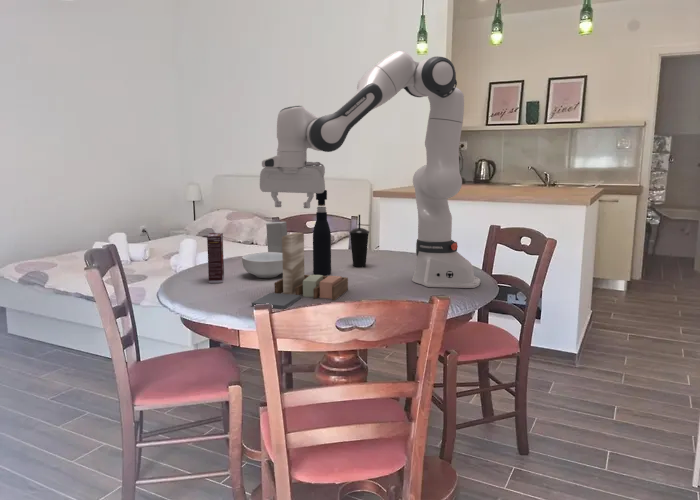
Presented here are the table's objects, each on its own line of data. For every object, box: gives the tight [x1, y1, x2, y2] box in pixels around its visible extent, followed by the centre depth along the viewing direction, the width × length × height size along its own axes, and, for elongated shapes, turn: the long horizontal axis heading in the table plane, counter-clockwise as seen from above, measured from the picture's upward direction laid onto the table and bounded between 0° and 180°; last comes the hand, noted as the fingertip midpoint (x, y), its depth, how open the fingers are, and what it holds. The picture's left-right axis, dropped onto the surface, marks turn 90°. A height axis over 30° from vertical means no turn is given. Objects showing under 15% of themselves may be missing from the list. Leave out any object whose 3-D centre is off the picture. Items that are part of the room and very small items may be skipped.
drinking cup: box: [348, 214, 370, 268], centre depth 206 cm, size 8×8×20 cm
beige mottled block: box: [282, 231, 305, 295], centre depth 167 cm, size 3×10×18 cm, turn 163°
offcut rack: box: [273, 274, 349, 301], centre depth 167 cm, size 19×13×4 cm
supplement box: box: [206, 232, 225, 284], centre depth 183 cm, size 9×5×16 cm, turn 9°
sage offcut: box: [302, 274, 323, 298], centre depth 166 cm, size 4×9×5 cm, turn 169°
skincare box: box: [265, 221, 288, 253], centre depth 218 cm, size 8×7×16 cm
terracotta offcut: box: [319, 275, 343, 300], centre depth 165 cm, size 4×9×5 cm, turn 163°
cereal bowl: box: [241, 251, 283, 279], centre depth 191 cm, size 17×17×7 cm
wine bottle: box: [312, 189, 332, 276], centre depth 192 cm, size 6×6×30 cm
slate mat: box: [251, 292, 302, 310], centre depth 156 cm, size 10×12×1 cm
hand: (292, 207), depth 164 cm, fingers open, 8 cm apart
